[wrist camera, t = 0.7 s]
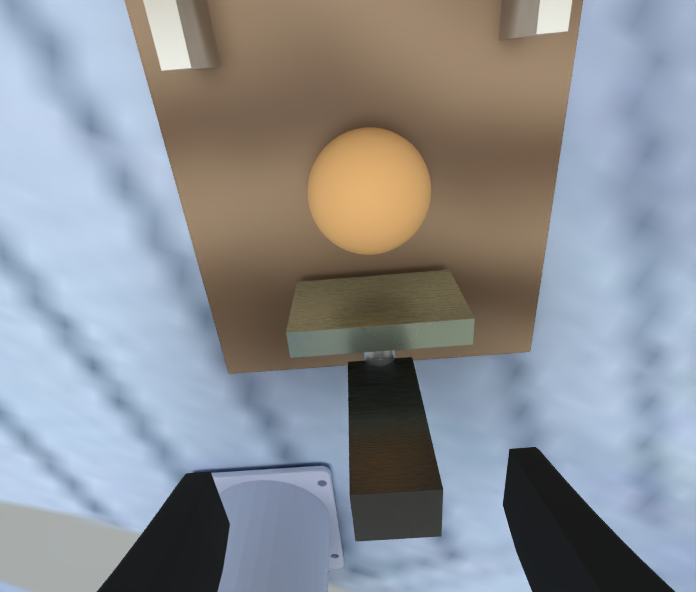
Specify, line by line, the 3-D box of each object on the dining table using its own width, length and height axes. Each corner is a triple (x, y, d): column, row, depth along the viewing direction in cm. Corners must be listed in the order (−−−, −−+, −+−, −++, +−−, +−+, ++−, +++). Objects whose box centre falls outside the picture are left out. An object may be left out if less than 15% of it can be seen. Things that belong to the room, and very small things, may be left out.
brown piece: (525, 345, 20) (584, 435, 15) (231, 367, 20) (196, 461, 15) (623, -330, 10) (872, -679, 5) (60, -260, 11) (-173, -525, 6)
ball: (420, 226, 16) (441, 269, 13) (318, 234, 17) (311, 280, 13) (420, 114, 15) (444, 131, 11) (304, 125, 15) (292, 144, 11)
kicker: (446, 369, 19) (504, 543, 12) (312, 378, 19) (294, 555, 12) (449, 269, 16) (524, 415, 10) (296, 282, 17) (264, 433, 10)
